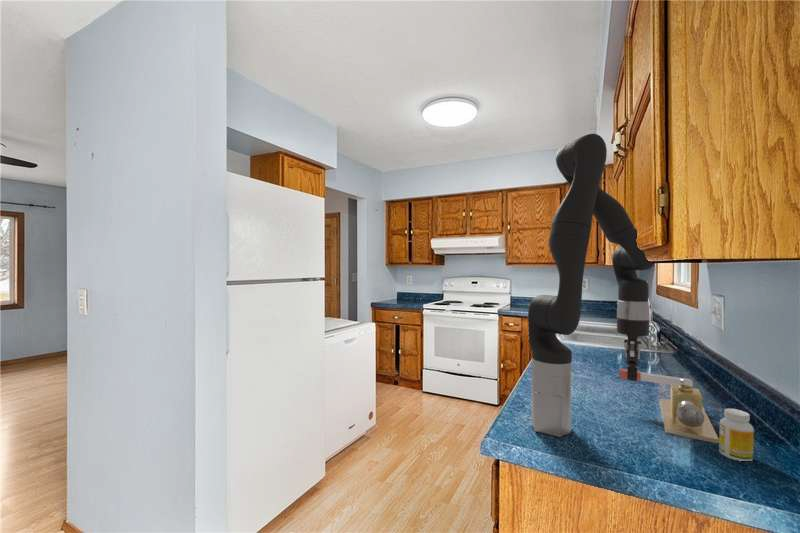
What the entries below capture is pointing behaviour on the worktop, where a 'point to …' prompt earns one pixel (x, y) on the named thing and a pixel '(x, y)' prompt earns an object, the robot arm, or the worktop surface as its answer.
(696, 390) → the valve rig
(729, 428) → the supplement bottle
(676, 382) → the valve lever
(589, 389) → the worktop surface
